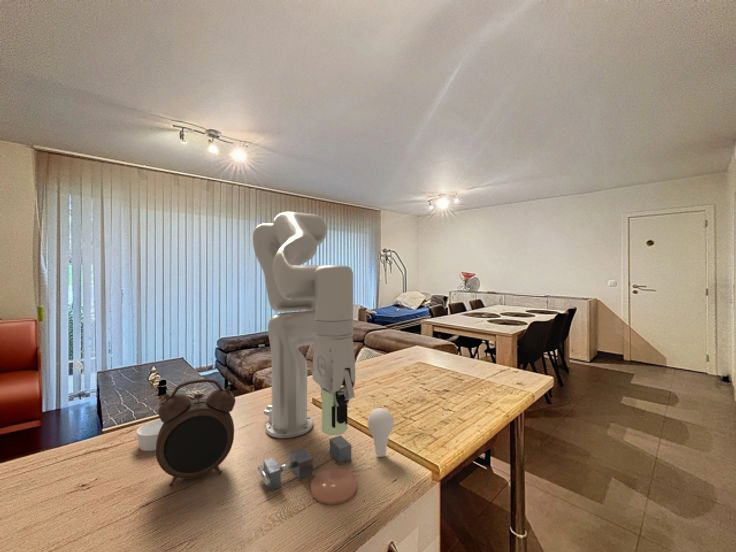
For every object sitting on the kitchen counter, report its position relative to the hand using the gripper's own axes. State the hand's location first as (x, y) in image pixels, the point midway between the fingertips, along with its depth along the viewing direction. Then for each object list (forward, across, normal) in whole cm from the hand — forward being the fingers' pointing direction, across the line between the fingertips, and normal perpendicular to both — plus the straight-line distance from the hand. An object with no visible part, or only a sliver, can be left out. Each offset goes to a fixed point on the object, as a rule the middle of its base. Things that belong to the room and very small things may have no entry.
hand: (334, 420), depth 62 cm
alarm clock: (+14, -19, -22) cm, 32 cm away
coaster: (+13, 0, 0) cm, 13 cm away
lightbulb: (+14, -4, +14) cm, 20 cm away
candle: (+2, 0, 0) cm, 2 cm away
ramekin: (+13, -39, -29) cm, 51 cm away
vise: (+13, -9, -2) cm, 16 cm away
